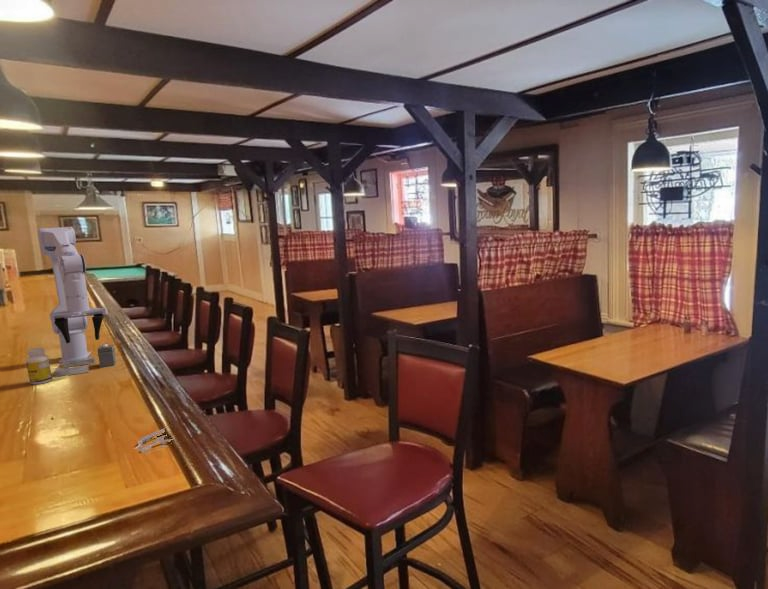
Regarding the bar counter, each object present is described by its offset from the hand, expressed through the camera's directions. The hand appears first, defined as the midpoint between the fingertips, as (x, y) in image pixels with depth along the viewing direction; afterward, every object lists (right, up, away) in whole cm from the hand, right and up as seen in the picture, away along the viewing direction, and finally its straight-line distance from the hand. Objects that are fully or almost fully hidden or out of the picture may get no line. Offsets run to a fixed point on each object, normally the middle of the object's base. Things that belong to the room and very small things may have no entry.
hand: (83, 340), depth 153 cm
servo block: (+2, -9, +10) cm, 13 cm away
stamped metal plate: (+45, -16, -52) cm, 70 cm away
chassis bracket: (-6, -9, +7) cm, 13 cm away
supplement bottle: (-9, -12, -5) cm, 16 cm away
